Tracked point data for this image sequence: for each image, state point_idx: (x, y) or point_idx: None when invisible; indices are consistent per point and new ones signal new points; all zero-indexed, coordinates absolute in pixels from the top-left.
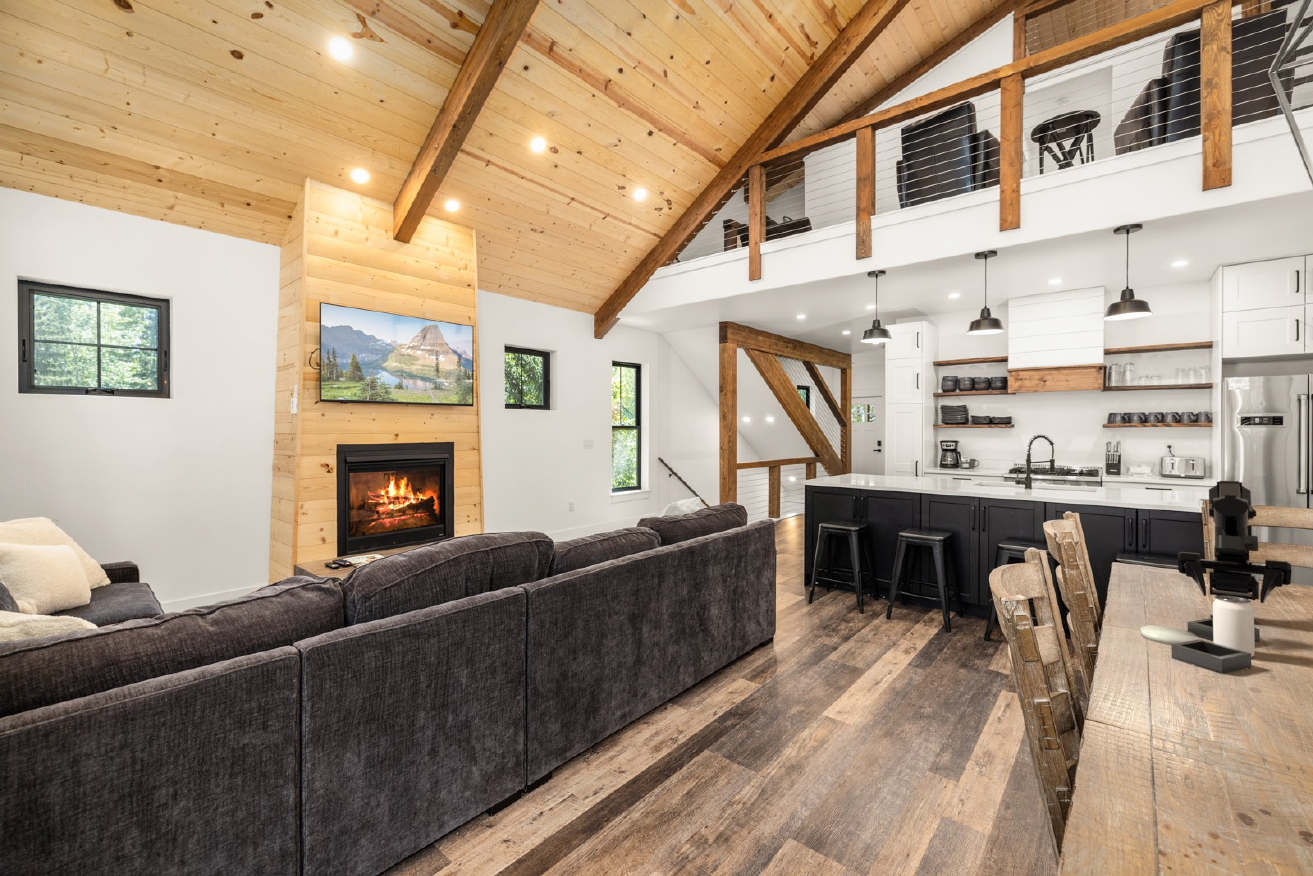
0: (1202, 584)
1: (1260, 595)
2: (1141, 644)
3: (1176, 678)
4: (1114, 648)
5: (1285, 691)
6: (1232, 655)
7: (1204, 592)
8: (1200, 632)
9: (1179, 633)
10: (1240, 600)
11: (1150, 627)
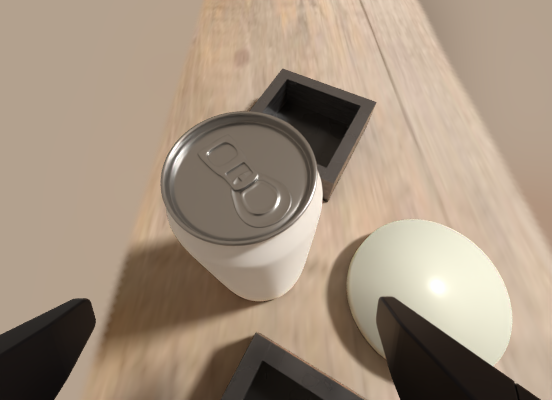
0: (439, 341)
1: (58, 316)
2: (444, 185)
3: (337, 39)
4: (468, 119)
5: (202, 74)
6: (264, 100)
7: (389, 299)
8: (354, 392)
9: (399, 299)
10: (203, 199)
11: (489, 317)
